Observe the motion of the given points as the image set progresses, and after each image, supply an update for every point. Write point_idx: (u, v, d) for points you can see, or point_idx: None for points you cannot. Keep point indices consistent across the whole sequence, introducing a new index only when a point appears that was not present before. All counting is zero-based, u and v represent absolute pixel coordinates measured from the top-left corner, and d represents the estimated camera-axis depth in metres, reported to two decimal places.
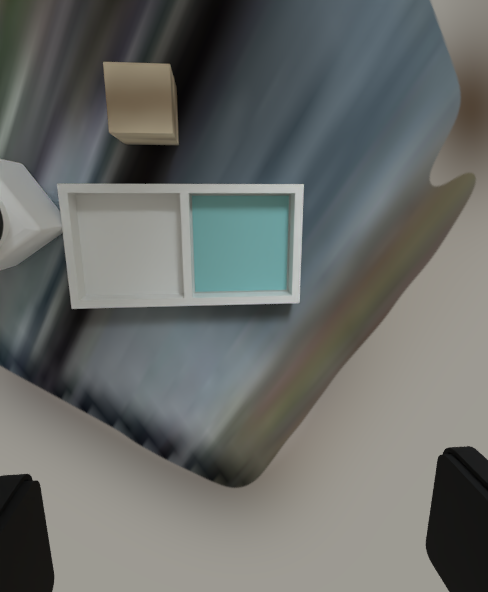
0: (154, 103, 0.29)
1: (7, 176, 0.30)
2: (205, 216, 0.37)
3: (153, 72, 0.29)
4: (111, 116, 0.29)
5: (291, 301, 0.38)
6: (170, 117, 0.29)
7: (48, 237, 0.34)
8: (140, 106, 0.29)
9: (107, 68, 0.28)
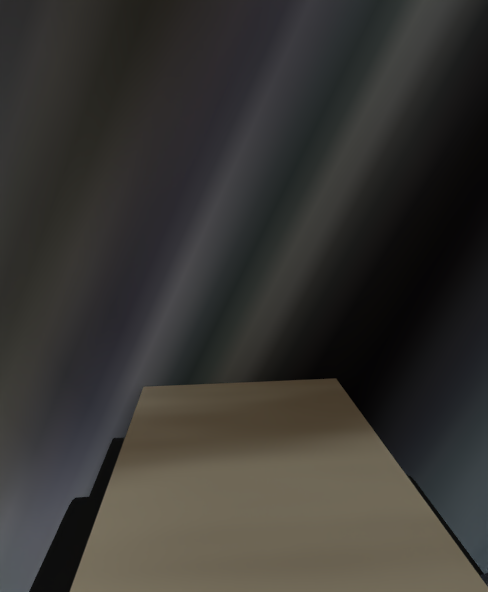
0: None
1: None
2: None
3: None
4: None
5: None
6: None
7: None
8: None
9: None
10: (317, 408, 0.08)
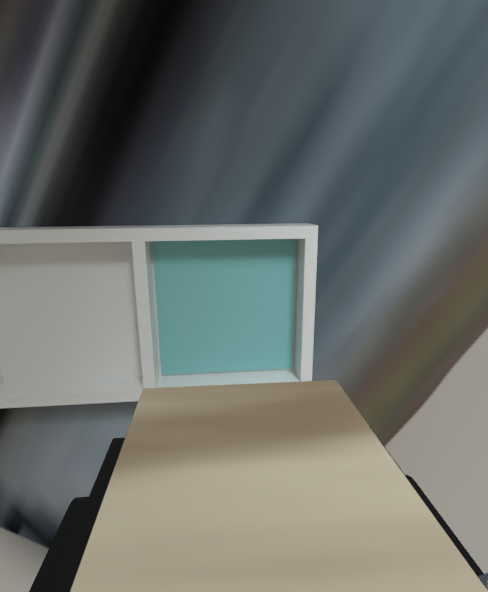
0: None
1: None
2: (174, 271, 0.25)
3: None
4: None
5: None
6: None
7: None
8: None
9: None
10: (317, 410, 0.08)
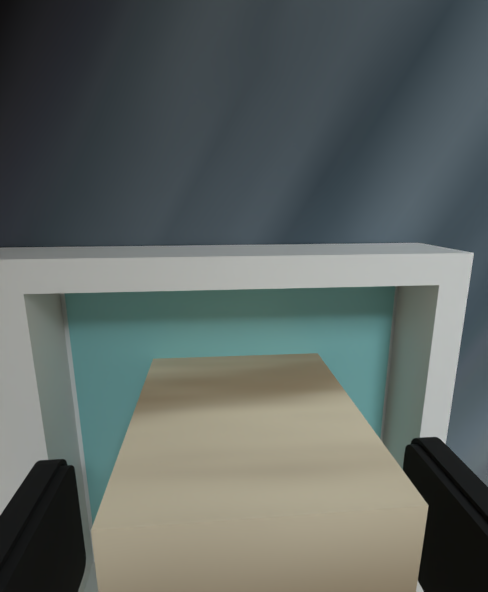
0: None
1: None
2: (117, 351, 0.11)
3: (344, 545, 0.06)
4: None
5: None
6: None
7: None
8: None
9: (114, 554, 0.05)
10: (299, 374, 0.10)
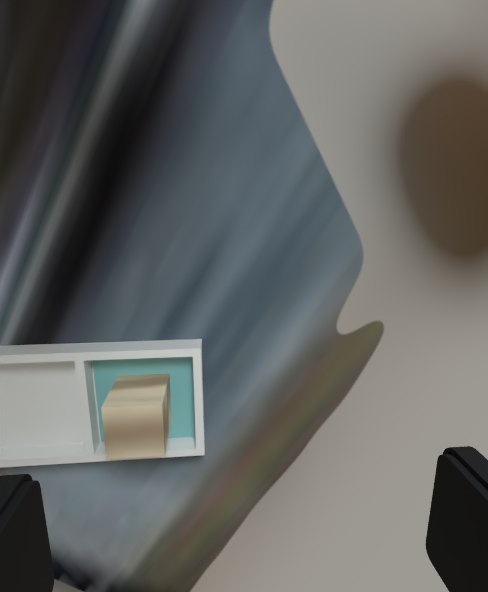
0: (147, 434, 0.32)
1: None
2: (107, 373, 0.37)
3: (147, 412, 0.31)
4: (108, 447, 0.32)
5: (196, 454, 0.38)
6: (162, 444, 0.32)
7: None
8: (135, 438, 0.32)
9: (105, 412, 0.31)
10: (158, 380, 0.36)
